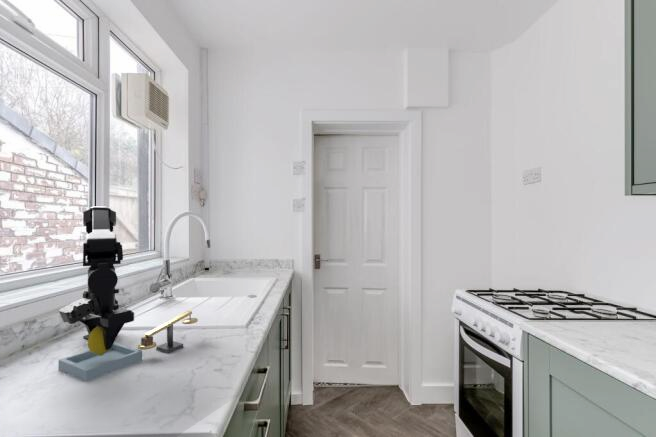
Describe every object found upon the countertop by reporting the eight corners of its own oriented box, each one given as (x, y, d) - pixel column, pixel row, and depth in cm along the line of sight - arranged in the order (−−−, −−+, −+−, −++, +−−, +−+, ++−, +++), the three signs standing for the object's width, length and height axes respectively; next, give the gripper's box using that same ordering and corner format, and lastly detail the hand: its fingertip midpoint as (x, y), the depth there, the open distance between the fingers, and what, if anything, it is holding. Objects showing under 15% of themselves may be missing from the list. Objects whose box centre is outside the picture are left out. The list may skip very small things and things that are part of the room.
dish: (58, 369, 80) (58, 359, 80) (114, 351, 91) (114, 342, 91) (86, 381, 74) (86, 370, 74) (142, 360, 85) (142, 350, 85)
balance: (133, 358, 86) (133, 324, 86) (190, 337, 102) (190, 308, 102) (144, 362, 84) (144, 327, 84) (201, 339, 100) (201, 310, 100)
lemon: (82, 359, 80) (82, 327, 80) (101, 350, 86) (101, 320, 86) (100, 361, 79) (100, 328, 79) (119, 352, 85) (119, 321, 85)
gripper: (45, 288, 80) (45, 351, 80) (85, 296, 71) (85, 367, 71) (95, 281, 90) (95, 337, 90) (135, 287, 81) (135, 349, 81)
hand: (101, 347), depth 83 cm, fingers closed on lemon, 5 cm apart
